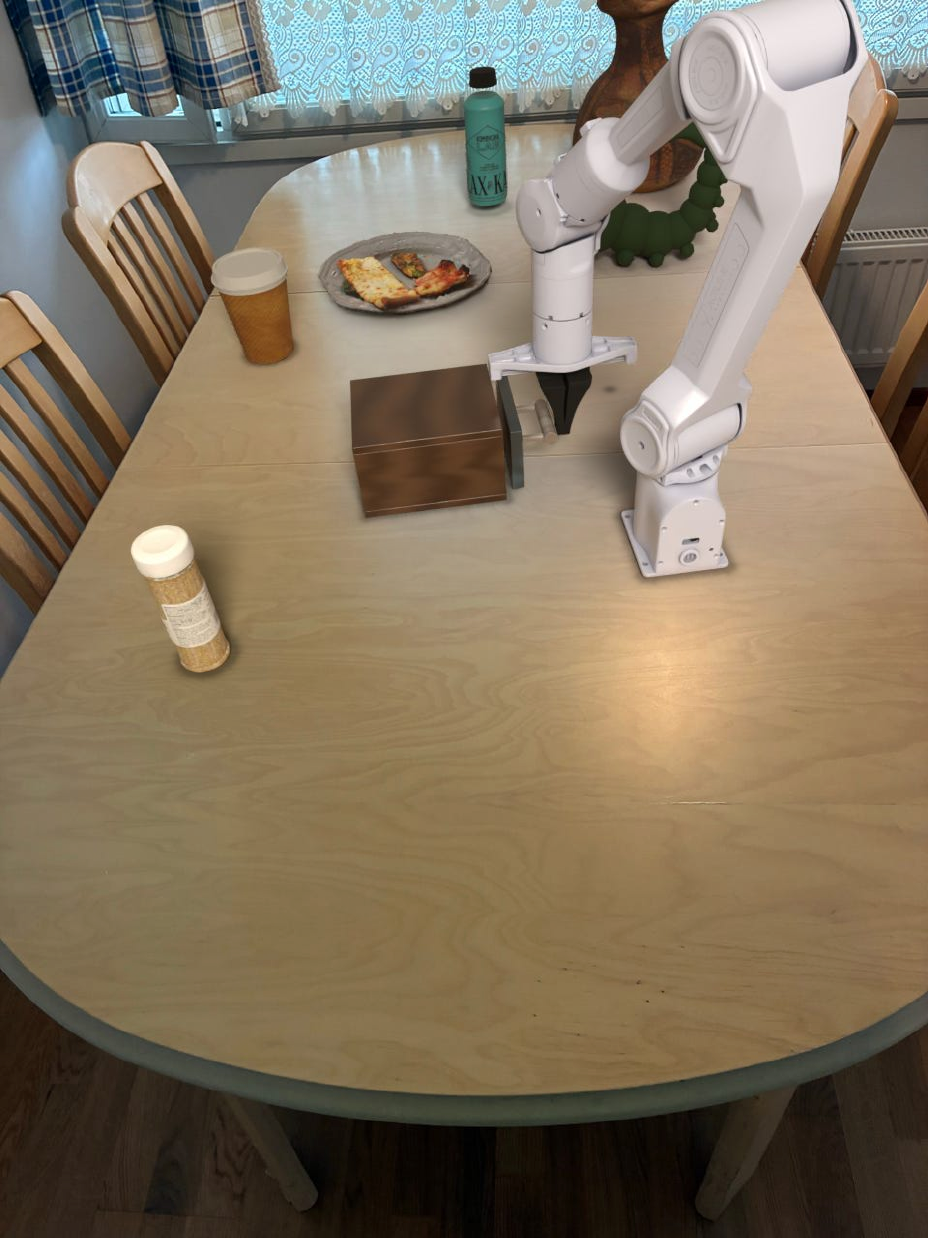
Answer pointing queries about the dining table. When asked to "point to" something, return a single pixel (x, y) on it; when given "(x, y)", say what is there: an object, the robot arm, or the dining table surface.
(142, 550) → the spice jar
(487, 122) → the beverage bottle
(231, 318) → the disposable coffee cup
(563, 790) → the dining table surface
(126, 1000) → the dining table surface
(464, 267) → the food plate
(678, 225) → the toy figurine
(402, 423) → the cabinet
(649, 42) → the jug
